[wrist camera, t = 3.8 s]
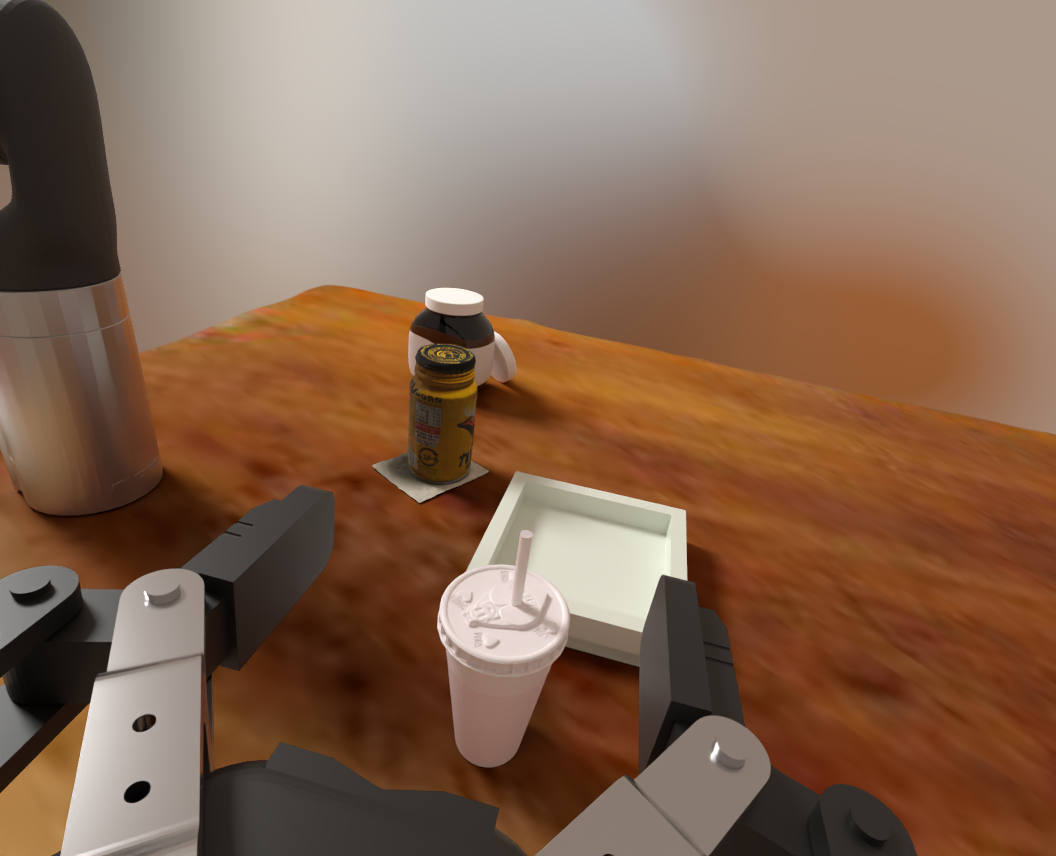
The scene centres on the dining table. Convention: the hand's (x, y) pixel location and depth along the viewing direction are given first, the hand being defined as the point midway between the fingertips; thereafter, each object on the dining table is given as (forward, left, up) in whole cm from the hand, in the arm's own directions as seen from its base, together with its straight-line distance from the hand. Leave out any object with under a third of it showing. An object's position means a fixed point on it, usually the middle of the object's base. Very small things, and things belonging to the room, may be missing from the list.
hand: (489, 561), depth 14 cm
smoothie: (-1, +10, -21) cm, 23 cm away
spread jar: (-18, +55, -21) cm, 61 cm away
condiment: (-14, +34, -21) cm, 42 cm away
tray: (+2, +25, -21) cm, 32 cm away
